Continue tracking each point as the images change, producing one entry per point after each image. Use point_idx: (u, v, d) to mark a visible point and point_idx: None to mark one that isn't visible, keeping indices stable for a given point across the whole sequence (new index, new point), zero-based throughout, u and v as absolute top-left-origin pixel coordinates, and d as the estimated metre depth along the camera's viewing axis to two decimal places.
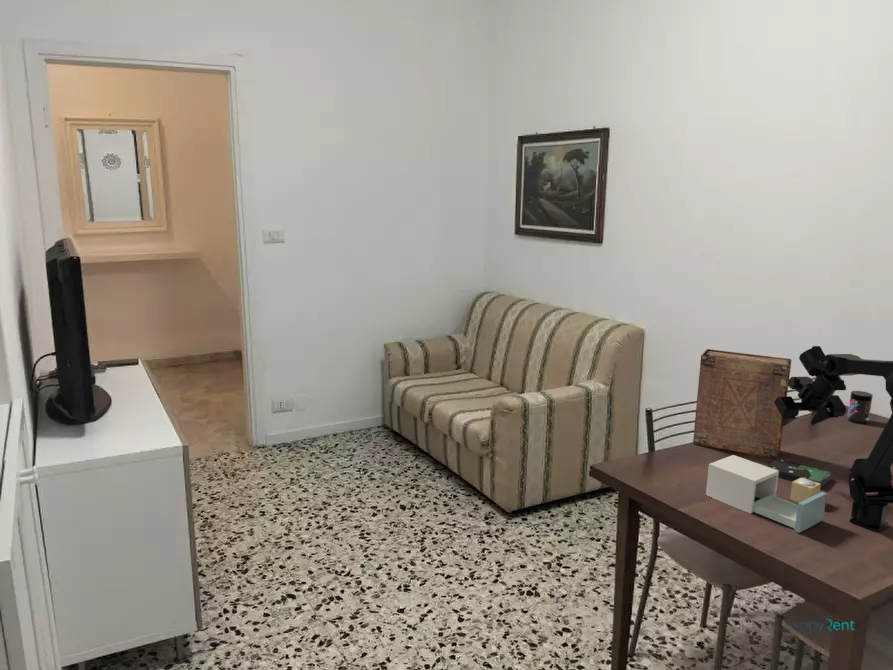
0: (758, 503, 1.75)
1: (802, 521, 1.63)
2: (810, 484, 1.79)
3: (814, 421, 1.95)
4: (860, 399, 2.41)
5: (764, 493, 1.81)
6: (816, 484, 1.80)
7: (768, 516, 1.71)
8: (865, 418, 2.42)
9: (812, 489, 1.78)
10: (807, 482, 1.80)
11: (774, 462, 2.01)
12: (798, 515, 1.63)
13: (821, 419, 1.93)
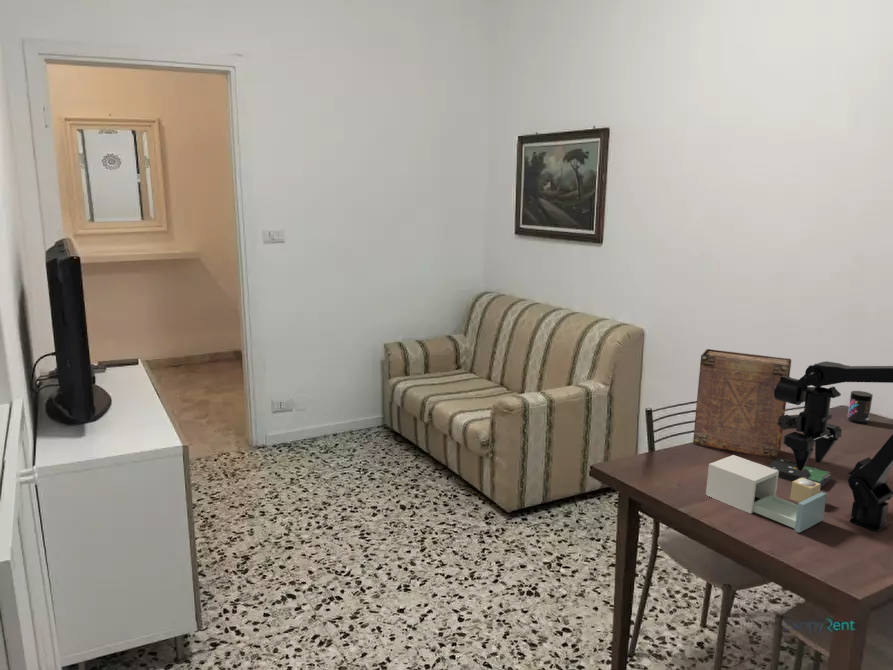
0: (758, 503, 1.75)
1: (802, 521, 1.63)
2: (810, 484, 1.79)
3: (819, 457, 1.82)
4: (860, 399, 2.41)
5: (764, 493, 1.81)
6: (816, 484, 1.80)
7: (768, 516, 1.71)
8: (865, 418, 2.42)
9: (812, 489, 1.78)
10: (807, 482, 1.80)
11: (774, 462, 2.01)
12: (798, 515, 1.63)
13: (825, 449, 1.80)
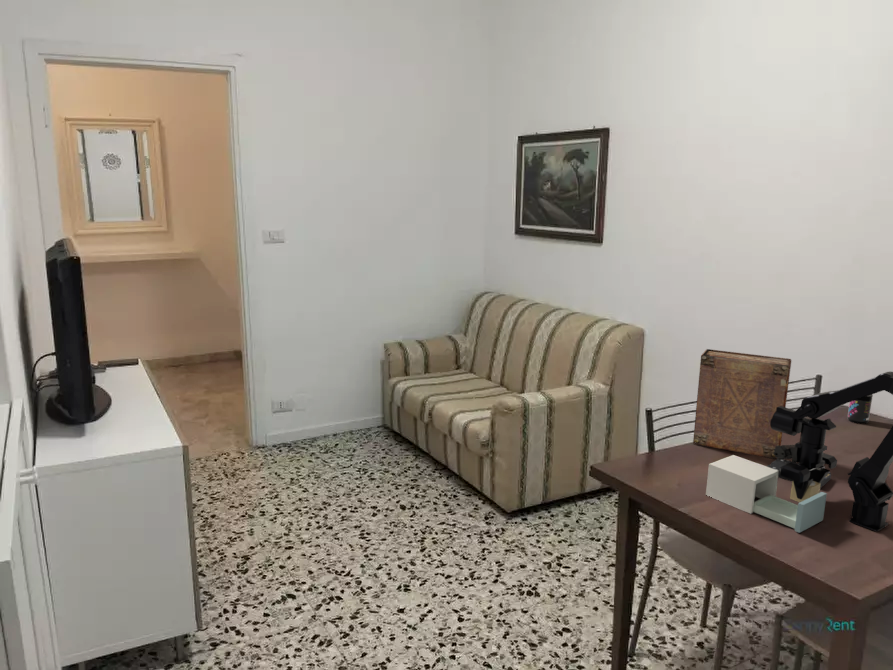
0: (758, 503, 1.75)
1: (802, 521, 1.63)
2: (810, 484, 1.79)
3: None
4: (860, 399, 2.41)
5: (764, 493, 1.81)
6: (816, 484, 1.80)
7: (768, 516, 1.71)
8: (865, 418, 2.42)
9: (812, 489, 1.78)
10: None
11: (774, 462, 2.01)
12: (798, 515, 1.63)
13: (817, 481, 1.81)
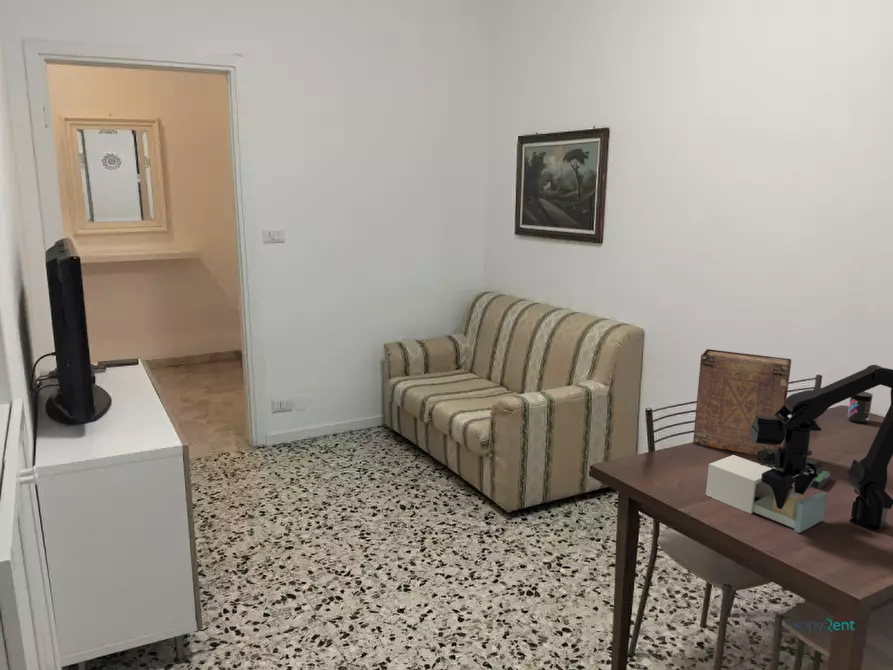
0: (758, 503, 1.75)
1: (802, 521, 1.63)
2: (793, 496, 1.69)
3: None
4: (860, 399, 2.41)
5: (764, 493, 1.81)
6: (799, 496, 1.69)
7: (768, 516, 1.71)
8: (865, 418, 2.42)
9: (795, 501, 1.68)
10: (790, 493, 1.70)
11: None
12: (798, 515, 1.63)
13: (805, 486, 1.71)
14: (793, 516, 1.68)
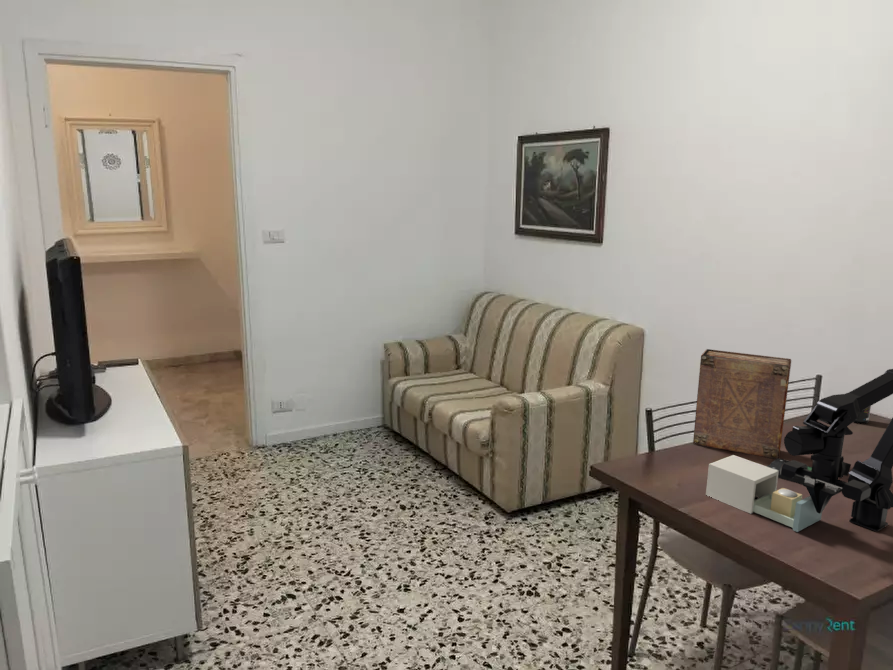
0: (756, 502, 1.75)
1: (800, 520, 1.64)
2: (791, 495, 1.69)
3: None
4: None
5: (764, 493, 1.81)
6: (798, 495, 1.70)
7: (766, 515, 1.71)
8: (865, 418, 2.42)
9: (793, 500, 1.68)
10: (788, 493, 1.70)
11: (773, 462, 2.01)
12: (796, 514, 1.63)
13: None
14: (791, 515, 1.69)
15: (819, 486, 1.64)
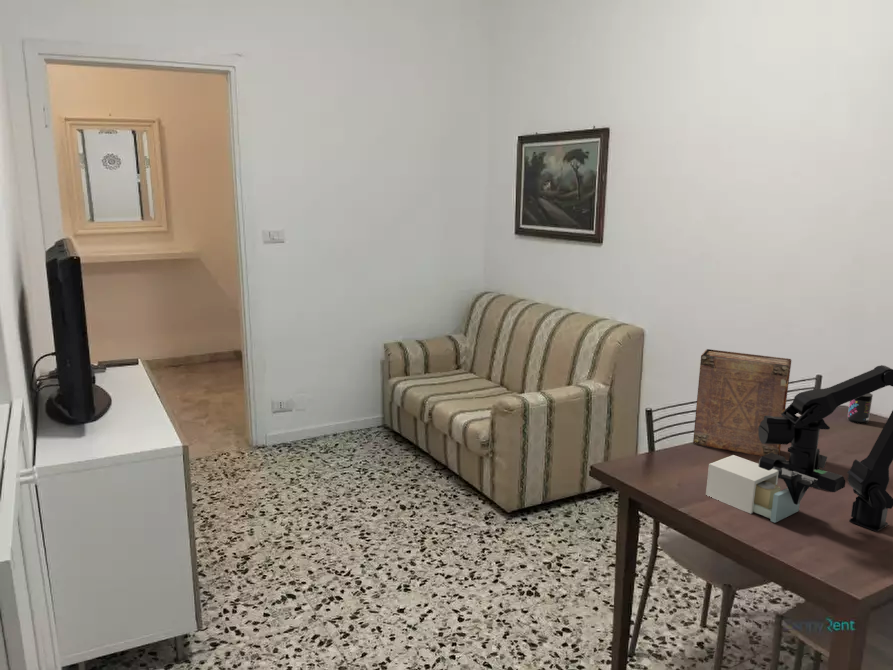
0: None
1: (778, 511, 1.68)
2: (770, 487, 1.74)
3: None
4: (860, 399, 2.41)
5: None
6: (776, 487, 1.74)
7: None
8: (865, 418, 2.42)
9: (771, 492, 1.72)
10: (767, 485, 1.75)
11: None
12: (774, 505, 1.68)
13: None
14: (769, 507, 1.73)
15: (796, 478, 1.68)
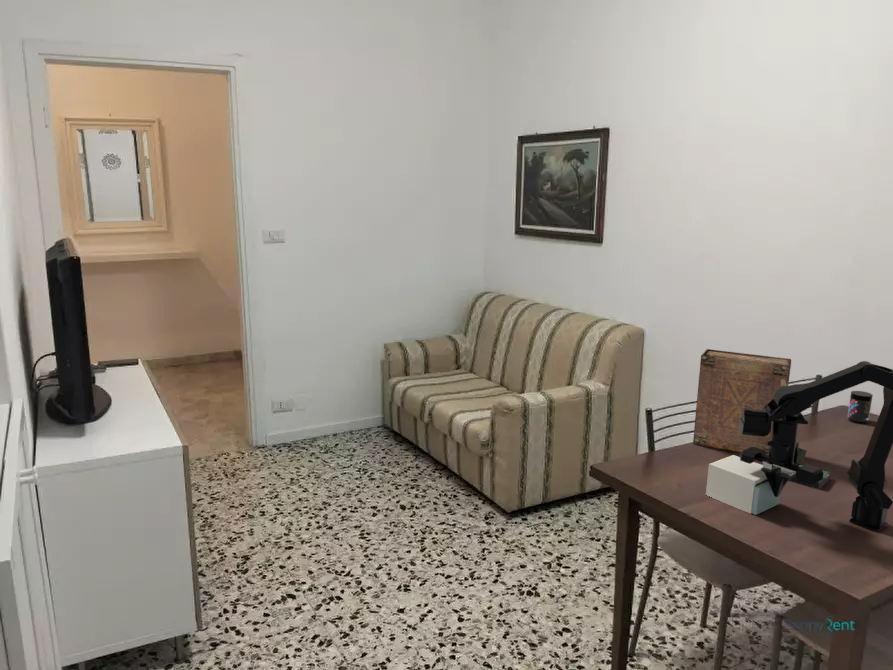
0: None
1: (759, 504, 1.72)
2: None
3: None
4: (860, 399, 2.41)
5: None
6: None
7: None
8: (865, 418, 2.42)
9: None
10: None
11: None
12: (755, 498, 1.72)
13: None
14: None
15: (776, 471, 1.72)
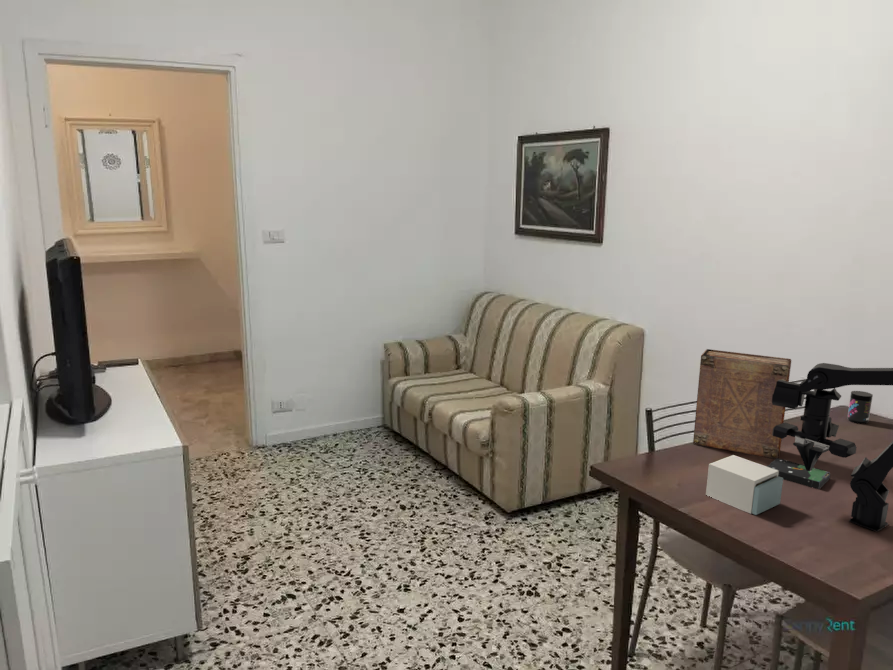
0: None
1: (759, 504, 1.72)
2: None
3: None
4: (860, 399, 2.41)
5: None
6: None
7: None
8: (865, 418, 2.42)
9: None
10: None
11: (773, 462, 2.01)
12: (755, 498, 1.72)
13: None
14: None
15: (808, 445, 1.75)
